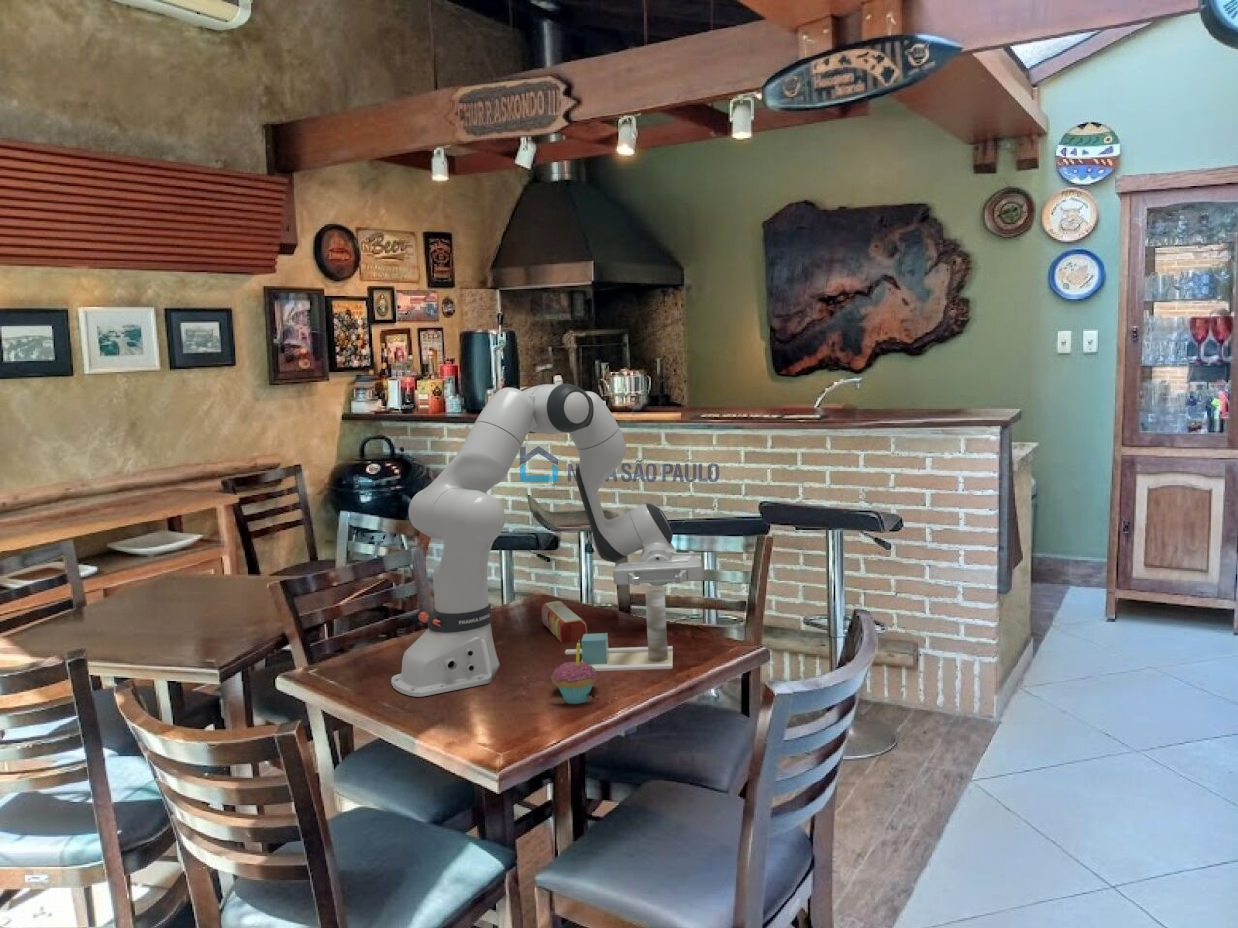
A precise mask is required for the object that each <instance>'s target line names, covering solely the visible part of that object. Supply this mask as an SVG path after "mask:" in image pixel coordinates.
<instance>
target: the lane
mask: <svg viewBox="0 0 1238 928" xmlns="http://www.w3.org/2000/svg"><path fill="white" fill-rule="evenodd" d="M576 649H577V648H574V649H571V648H569V649H565V651H564V655H576ZM673 649H674V648H673V645H667V651H673V652H674V650H673ZM608 651H609V653H634V652H648V646H638V647H637V646H636V647H635V646H634V647H633V646H632V647H629V646H628V647H608ZM580 654H581V655H582V648H580ZM673 664H674V663H673ZM673 664H672V663H669V664H636V665H604V666H592V667H593V668H594V669H595V672H605V671H636V670H639V671H640V670H643V671H644V670H665V669H666V670H671V669H673V667H674V665H673Z"/></svg>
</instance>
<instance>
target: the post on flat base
mask: <svg viewBox="0 0 1238 928" xmlns="http://www.w3.org/2000/svg"><path fill="white" fill-rule="evenodd" d="M665 592H666V591H664V590H660V589H653V590H652V589H651V590H646V591H645V614H646V633H647V634H646V636H647V638H646V639H647V647H648V652H623V653H609V658H608V662H607V664H590V665H591V666H604V665H636V664H669V663H672V664H674V663H673V661H674V660H673V657H674V656H673V655H674V654H673V653H674V650H673V651H667V646H668V635H667V634H668V633H667V632H668V631H667V617H666V616H667V614H666V612H667V611H666V593H665ZM580 662H583V659H582V658H581V661H580Z"/></svg>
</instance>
